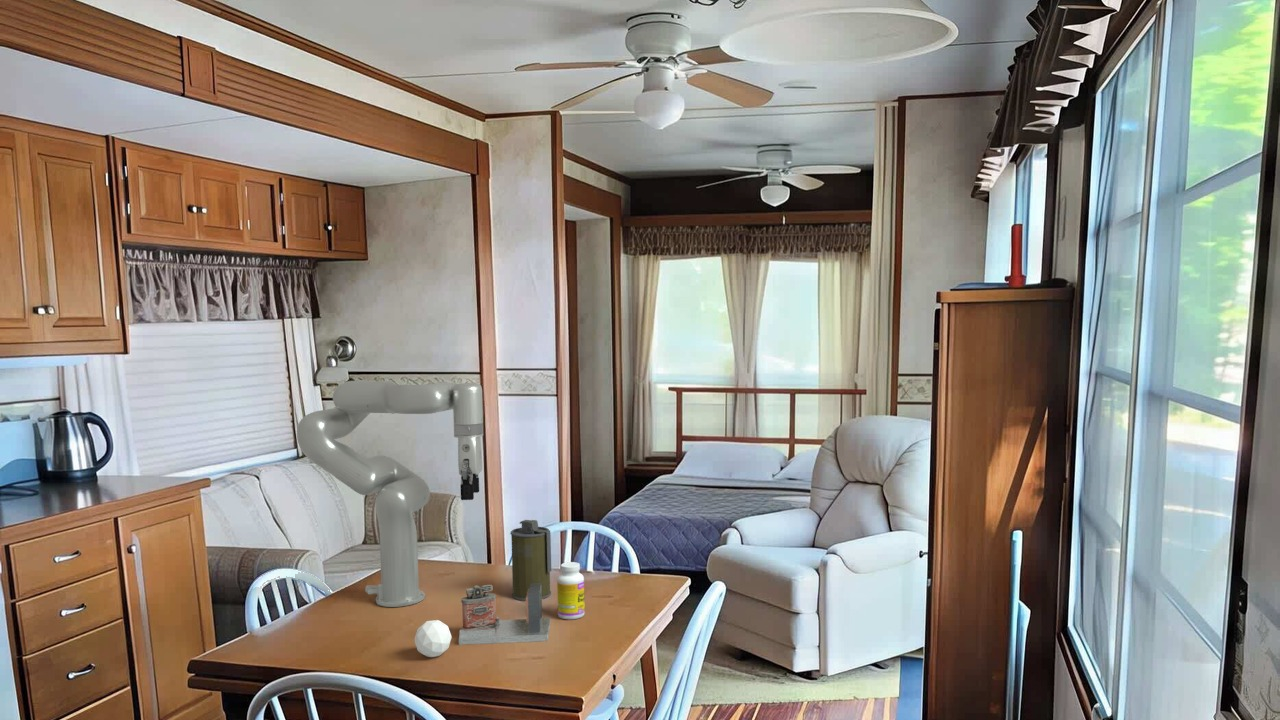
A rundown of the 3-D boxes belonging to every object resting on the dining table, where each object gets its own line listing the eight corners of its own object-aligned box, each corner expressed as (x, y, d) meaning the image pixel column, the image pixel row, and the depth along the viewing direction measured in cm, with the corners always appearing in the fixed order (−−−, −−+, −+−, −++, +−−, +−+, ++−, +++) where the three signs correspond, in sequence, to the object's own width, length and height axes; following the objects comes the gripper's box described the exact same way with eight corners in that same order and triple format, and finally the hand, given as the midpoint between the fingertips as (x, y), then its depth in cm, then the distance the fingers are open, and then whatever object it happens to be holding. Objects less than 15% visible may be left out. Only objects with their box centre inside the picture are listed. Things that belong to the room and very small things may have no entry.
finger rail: (458, 644, 188) (457, 598, 188) (466, 627, 199) (465, 584, 199) (547, 641, 189) (546, 595, 189) (550, 624, 200) (548, 581, 200)
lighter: (464, 633, 191) (462, 590, 191) (460, 629, 194) (459, 586, 194) (498, 627, 194) (497, 585, 194) (494, 623, 197) (493, 581, 197)
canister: (504, 598, 221) (502, 524, 220) (524, 587, 230) (522, 515, 230) (540, 603, 216) (538, 526, 216) (559, 591, 226) (557, 518, 225)
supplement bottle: (580, 621, 202) (579, 568, 202) (554, 619, 203) (553, 567, 203) (588, 612, 209) (586, 561, 208) (562, 610, 210) (561, 560, 210)
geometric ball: (429, 664, 184) (429, 629, 189) (458, 655, 182) (458, 619, 186) (406, 658, 178) (407, 621, 183) (436, 648, 176) (436, 611, 180)
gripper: (478, 434, 208) (480, 502, 208) (487, 426, 225) (489, 489, 225) (447, 435, 207) (449, 503, 208) (459, 427, 225) (461, 490, 225)
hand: (470, 496), depth 217 cm, fingers open, 9 cm apart
